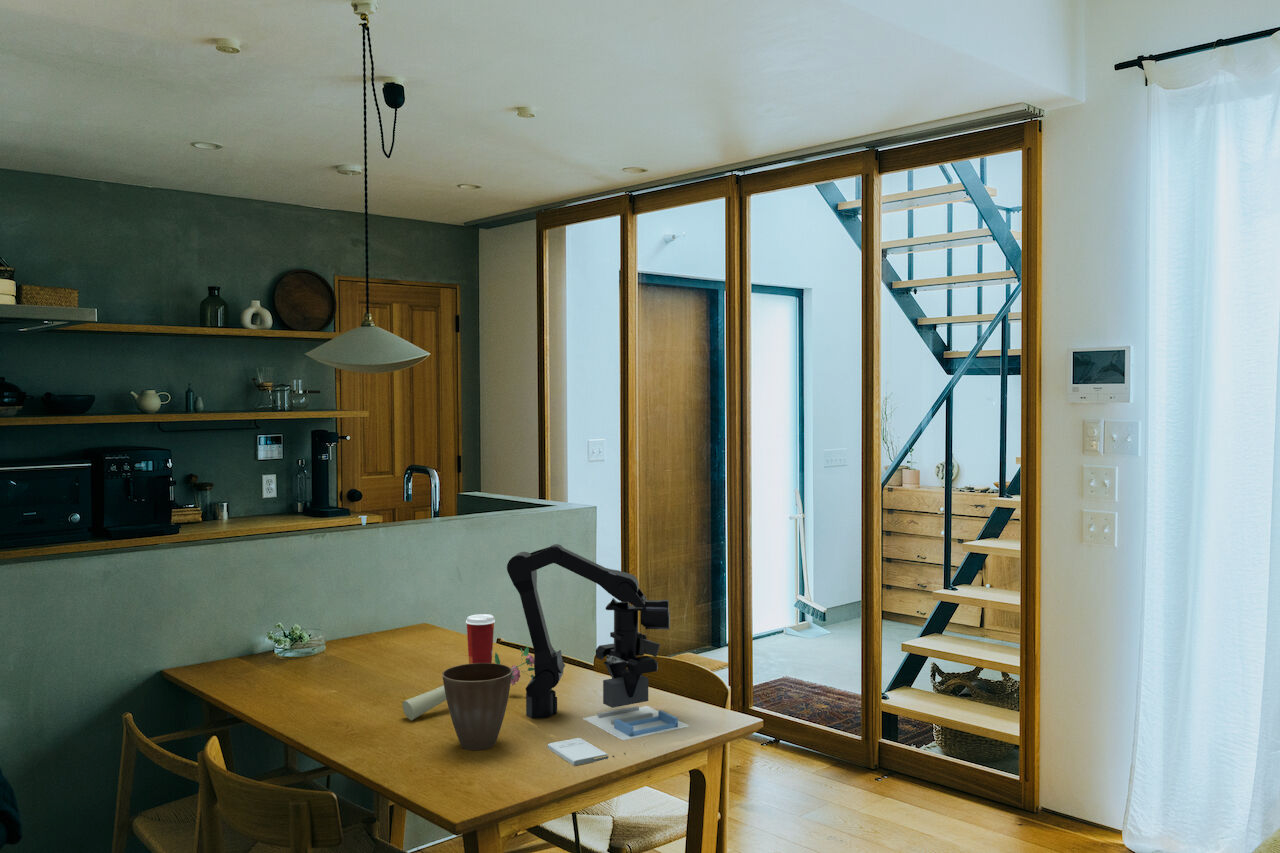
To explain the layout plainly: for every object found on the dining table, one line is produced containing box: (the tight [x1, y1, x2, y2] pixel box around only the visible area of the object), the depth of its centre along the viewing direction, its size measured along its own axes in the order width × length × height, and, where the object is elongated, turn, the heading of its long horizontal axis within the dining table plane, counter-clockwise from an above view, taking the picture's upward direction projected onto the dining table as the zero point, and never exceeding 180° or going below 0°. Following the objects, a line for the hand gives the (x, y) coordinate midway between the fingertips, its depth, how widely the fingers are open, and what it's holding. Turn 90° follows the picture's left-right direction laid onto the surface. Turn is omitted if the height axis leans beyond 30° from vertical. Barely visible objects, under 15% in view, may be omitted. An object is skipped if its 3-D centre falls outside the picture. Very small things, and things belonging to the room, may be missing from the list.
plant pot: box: [442, 662, 512, 751], centre depth 213 cm, size 15×15×16 cm
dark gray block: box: [602, 674, 649, 709], centre depth 230 cm, size 10×4×6 cm, turn 123°
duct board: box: [582, 705, 690, 741], centre depth 226 cm, size 18×18×3 cm
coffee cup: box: [465, 613, 496, 664], centre depth 274 cm, size 8×8×15 cm
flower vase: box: [402, 645, 535, 721], centre depth 241 cm, size 12×12×35 cm
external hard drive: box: [547, 737, 609, 767], centre depth 208 cm, size 2×8×12 cm
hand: (625, 694), depth 230 cm, fingers closed on dark gray block, 4 cm apart
